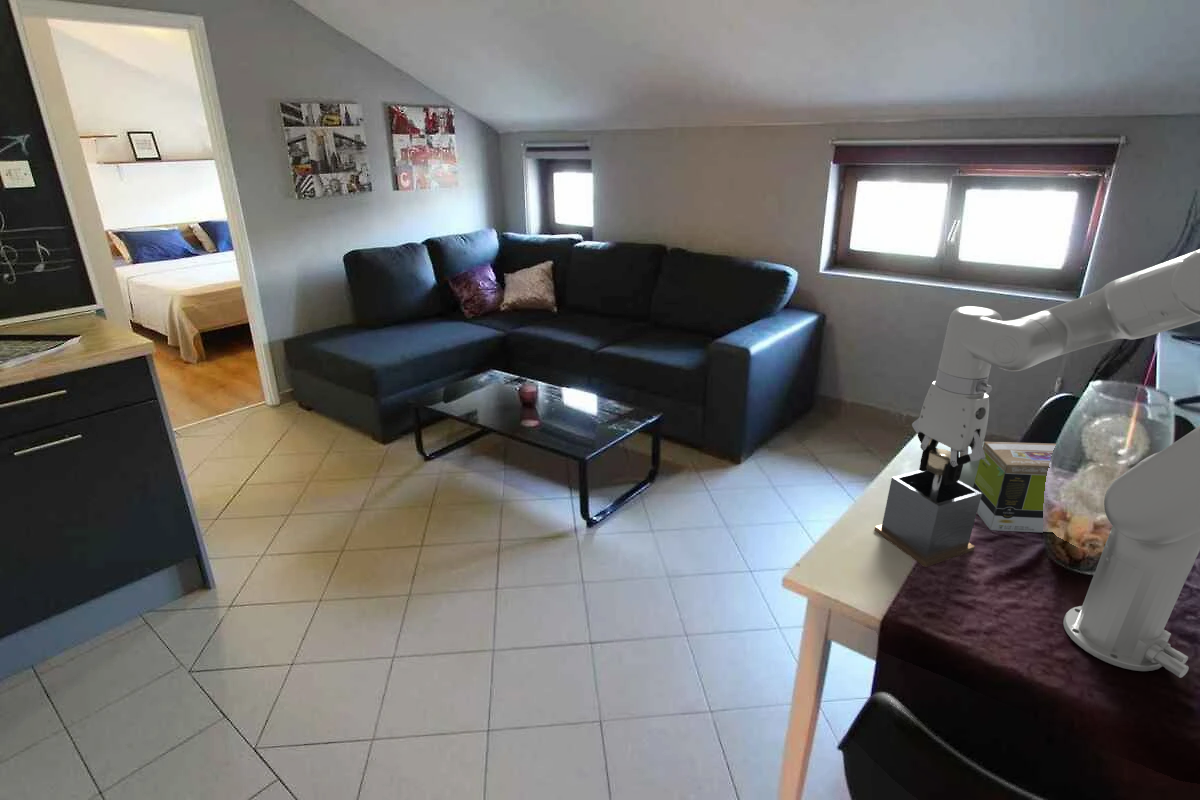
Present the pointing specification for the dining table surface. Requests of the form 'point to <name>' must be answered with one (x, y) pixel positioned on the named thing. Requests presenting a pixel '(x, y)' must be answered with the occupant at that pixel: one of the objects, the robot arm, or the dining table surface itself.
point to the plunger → (937, 468)
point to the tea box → (1013, 485)
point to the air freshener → (969, 472)
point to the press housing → (929, 517)
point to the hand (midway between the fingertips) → (938, 475)
